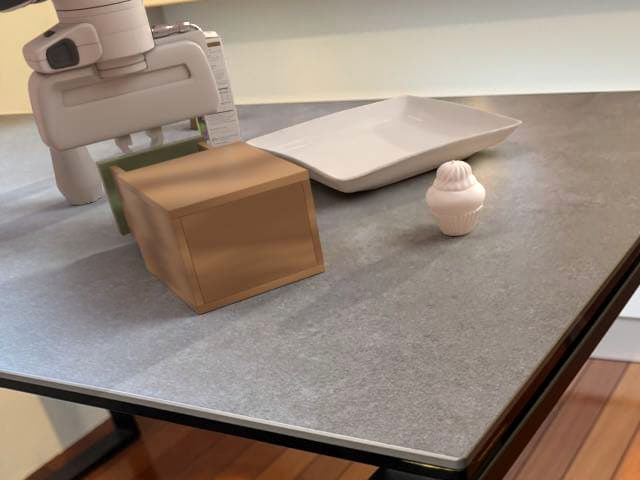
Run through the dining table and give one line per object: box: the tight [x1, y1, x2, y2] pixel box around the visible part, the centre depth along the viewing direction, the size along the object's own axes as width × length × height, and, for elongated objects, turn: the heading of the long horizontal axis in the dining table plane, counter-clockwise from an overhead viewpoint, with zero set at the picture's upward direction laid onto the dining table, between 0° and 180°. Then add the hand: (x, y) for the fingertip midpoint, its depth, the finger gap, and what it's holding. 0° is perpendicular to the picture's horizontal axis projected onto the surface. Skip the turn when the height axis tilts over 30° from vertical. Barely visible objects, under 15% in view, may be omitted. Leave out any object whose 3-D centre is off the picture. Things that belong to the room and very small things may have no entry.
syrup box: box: [196, 30, 243, 147], centre depth 116 cm, size 6×6×14 cm
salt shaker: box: [49, 145, 103, 206], centre depth 103 cm, size 6×6×13 cm
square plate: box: [244, 94, 523, 194], centre depth 106 cm, size 27×27×4 cm
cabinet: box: [116, 140, 326, 315], centre depth 80 cm, size 16×14×10 cm
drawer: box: [95, 134, 216, 240], centre depth 89 cm, size 19×12×8 cm, turn 32°
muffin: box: [425, 160, 486, 237], centre depth 82 cm, size 6×6×7 cm
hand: (149, 173), depth 94 cm, fingers closed, pressing on drawer
